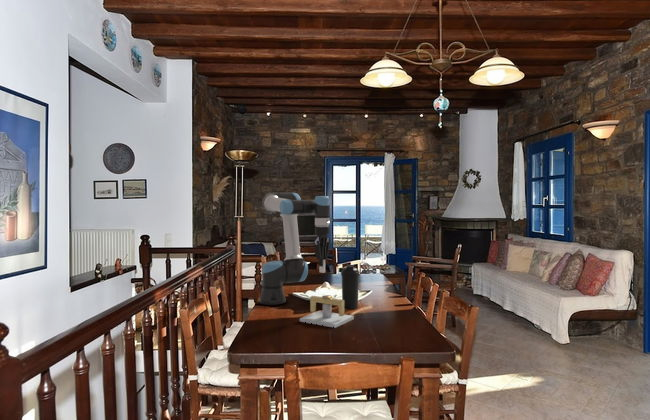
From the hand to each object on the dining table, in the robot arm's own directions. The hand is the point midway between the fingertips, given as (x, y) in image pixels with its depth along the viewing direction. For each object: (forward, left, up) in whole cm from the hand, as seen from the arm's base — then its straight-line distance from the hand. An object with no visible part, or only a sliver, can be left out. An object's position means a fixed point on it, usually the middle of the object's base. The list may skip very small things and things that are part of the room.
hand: (322, 272), depth 225 cm
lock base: (+7, -6, -22) cm, 24 cm away
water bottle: (+4, +23, -22) cm, 32 cm away
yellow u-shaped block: (+7, -6, -19) cm, 21 cm away
